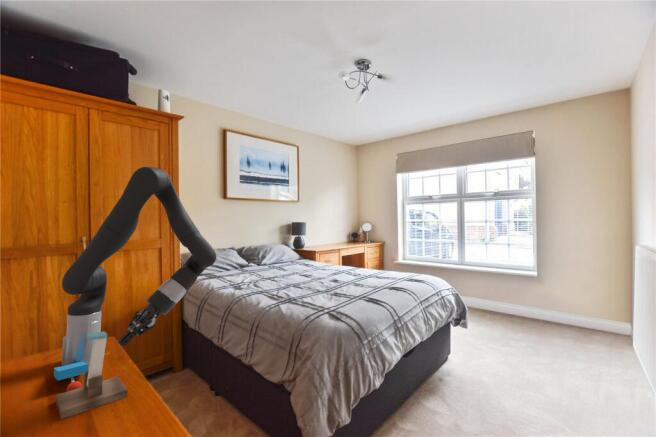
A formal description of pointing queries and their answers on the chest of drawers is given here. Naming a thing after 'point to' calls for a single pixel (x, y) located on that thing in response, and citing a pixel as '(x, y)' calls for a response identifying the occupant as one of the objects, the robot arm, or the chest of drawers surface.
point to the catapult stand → (90, 395)
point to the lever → (71, 373)
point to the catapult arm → (97, 353)
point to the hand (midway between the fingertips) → (120, 344)
